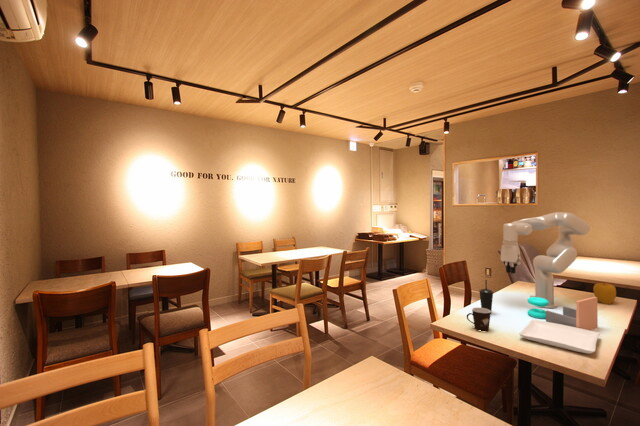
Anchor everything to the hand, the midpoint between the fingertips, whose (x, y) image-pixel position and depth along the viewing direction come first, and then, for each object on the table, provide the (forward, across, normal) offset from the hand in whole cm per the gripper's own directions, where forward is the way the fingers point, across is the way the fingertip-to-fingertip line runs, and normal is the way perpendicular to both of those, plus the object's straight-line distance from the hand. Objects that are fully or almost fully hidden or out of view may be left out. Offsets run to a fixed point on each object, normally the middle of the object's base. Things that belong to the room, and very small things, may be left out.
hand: (510, 272), depth 192 cm
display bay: (+22, +32, 0) cm, 39 cm away
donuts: (+22, +16, 0) cm, 28 cm away
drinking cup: (+22, 0, -22) cm, 31 cm away
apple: (+22, +20, +61) cm, 68 cm away
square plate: (+23, +40, -23) cm, 51 cm away
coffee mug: (+22, +14, -46) cm, 53 cm away
